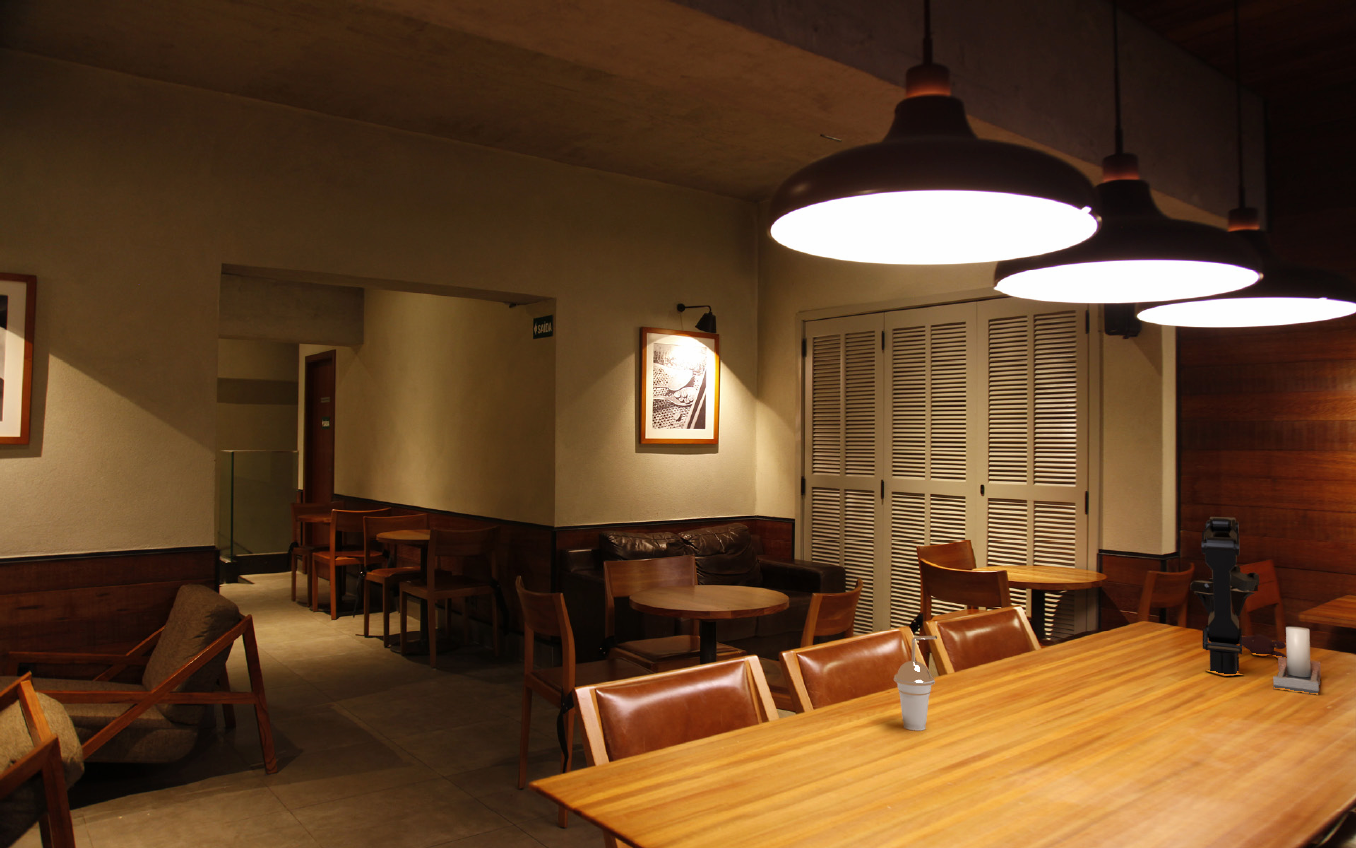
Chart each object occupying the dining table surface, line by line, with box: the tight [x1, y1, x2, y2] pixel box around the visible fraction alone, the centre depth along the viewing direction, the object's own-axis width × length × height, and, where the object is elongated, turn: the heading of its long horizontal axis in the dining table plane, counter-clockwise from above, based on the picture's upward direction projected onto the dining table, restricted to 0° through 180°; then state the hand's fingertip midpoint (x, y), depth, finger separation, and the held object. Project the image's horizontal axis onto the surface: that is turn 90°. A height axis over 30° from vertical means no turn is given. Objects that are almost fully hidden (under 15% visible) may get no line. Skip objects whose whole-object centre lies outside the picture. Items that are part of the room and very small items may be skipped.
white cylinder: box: [1285, 626, 1311, 677], centre depth 226 cm, size 5×5×12 cm
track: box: [1272, 657, 1322, 693], centre depth 221 cm, size 21×9×4 cm, turn 142°
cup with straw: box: [893, 635, 938, 732], centre depth 183 cm, size 8×9×20 cm
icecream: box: [1238, 632, 1287, 657], centre depth 253 cm, size 7×7×15 cm
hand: (1224, 616), depth 244 cm, fingers open, 9 cm apart
